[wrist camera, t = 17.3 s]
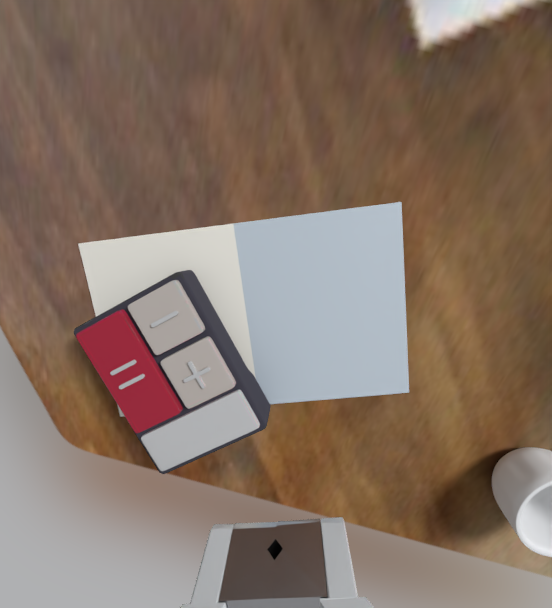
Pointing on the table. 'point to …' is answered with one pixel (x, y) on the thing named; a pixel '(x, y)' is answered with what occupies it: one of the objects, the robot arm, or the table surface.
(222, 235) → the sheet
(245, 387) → the calculator
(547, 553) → the teacup
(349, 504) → the table surface
